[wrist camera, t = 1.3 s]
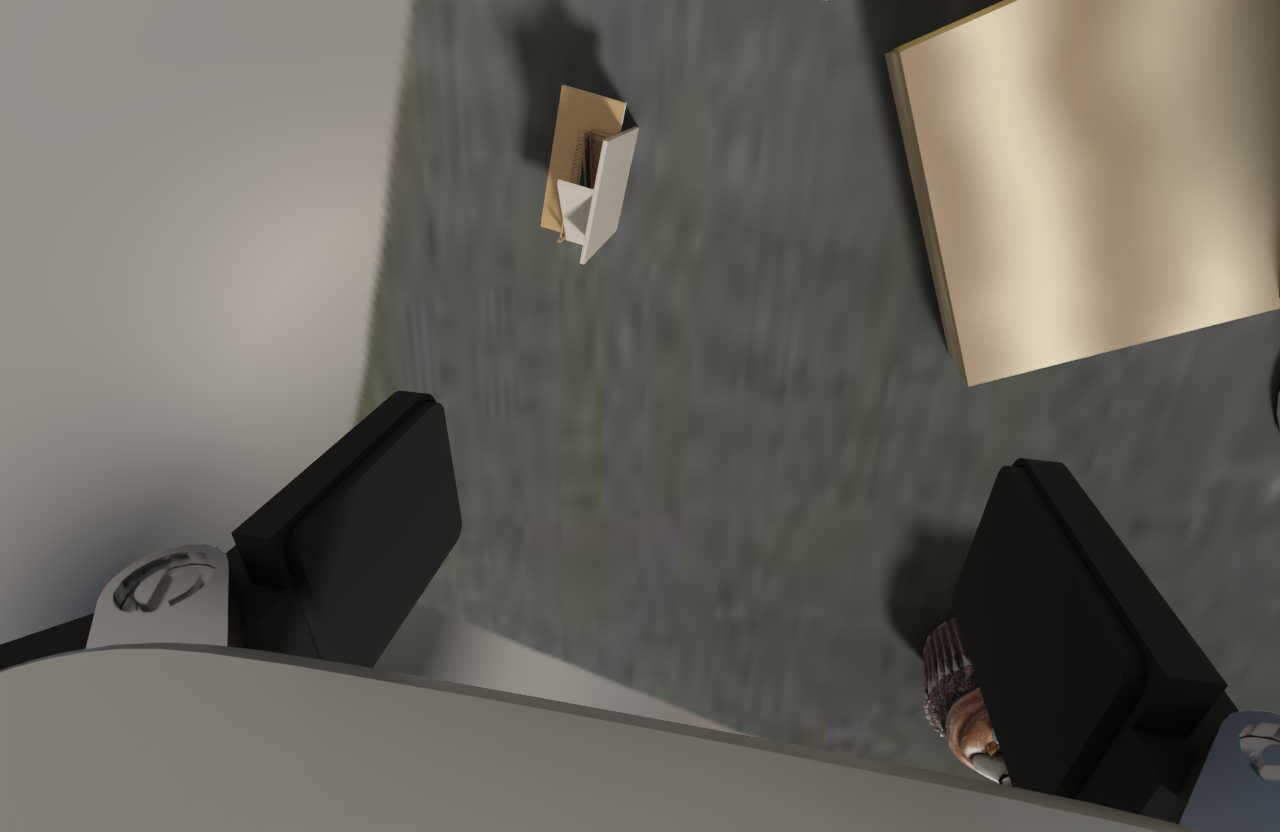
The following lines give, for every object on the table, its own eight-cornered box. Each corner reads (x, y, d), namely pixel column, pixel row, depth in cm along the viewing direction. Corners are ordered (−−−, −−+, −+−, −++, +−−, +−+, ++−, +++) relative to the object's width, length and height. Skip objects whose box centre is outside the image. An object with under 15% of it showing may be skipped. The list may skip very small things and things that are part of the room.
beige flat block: (1260, -116, 24) (1406, -171, 18) (1257, 272, 30) (1365, 317, 25) (883, 50, 29) (910, 46, 23) (949, 355, 35) (982, 408, 29)
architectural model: (560, 215, 36) (514, 248, 29) (583, 83, 32) (535, 87, 26) (617, 232, 35) (583, 268, 29) (645, 101, 32) (614, 110, 25)
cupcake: (916, 598, 44) (951, 728, 35) (1070, 606, 42) (1147, 746, 33) (904, 688, 48) (933, 822, 40) (1042, 699, 46) (1104, 843, 38)
